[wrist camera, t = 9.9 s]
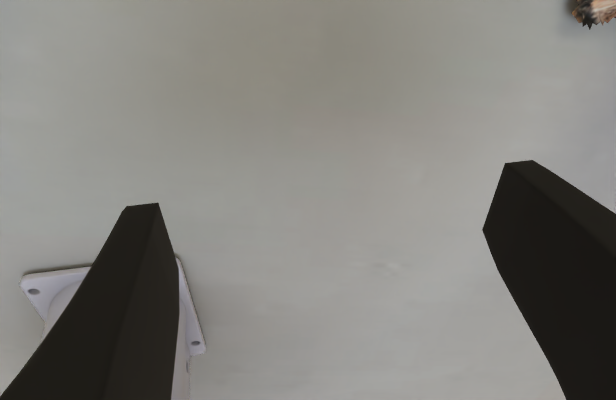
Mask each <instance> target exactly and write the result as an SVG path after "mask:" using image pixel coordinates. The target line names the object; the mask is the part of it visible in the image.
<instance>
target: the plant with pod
mask: <svg viewBox="0 0 616 400" xmlns="http://www.w3.org/2000/svg"><path fill="white" fill-rule="evenodd" d="M576 1H577V2H578V3H579V5H578V6H577V7H576V9H575V10H574V11H573V12H572V14H573V15H574V17H575V18H576V19H577V21H578V22H579V23H581V22H583V26H585V25H586V24H587V25H588V27H589V30H590V28H591V26H592V23H594V24H596V25H597V24H598V23H599V22H601V23H602V25H603V24H604V21H606V22H607V23H608V22H609V21H610V20H611V19H612V18H613V17H614V18H616V0H576Z"/></svg>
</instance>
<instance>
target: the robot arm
mask: <svg viewBox="0 0 616 400" xmlns="http://www.w3.org/2000/svg"><path fill="white" fill-rule="evenodd" d="M482 230H483V233H484V235H485V238H486V241H487V244H488V246H489V249H490V252H491V254H492V257H493V259H494V262H495V264H496V266H497V269H498V271H499V273H500V275H501V277H502V279H503V281H504V282H505V284H506V286H507V288H508V290H509V292H510V293H511V295H512V297H513V299H514V301H515V302H516V304H517V306H518V308H519V310H520V311H521V313H522V315H523V317H524V318H525V320H526V322H527V324H528V326H529V327H530V329H531V331H532V333H533V335H534V336H535V338H536V340H537V342H538V343H539V345H540V347H541V349H542V351H543V352H544V354H545V356H546V358H547V359H548V361H549V363H550V365H551V367H552V369H553V371H554V373H555V375H556V377H557V379H558V381H559V384H560V386H561V388H562V391H563V393H564V395H565V398H566V400H616V214H615V213H613V212H612V211H610V210H609V209H607V208H606V207H604V206H603V205H601V204H600V203H598V202H597V201H595V200H594V199H592V198H591V197H589V196H588V195H586V194H585V193H583V192H582V191H580V190H579V189H577V188H576V187H574V186H573V185H571V184H570V183H568V182H567V181H565V180H563V179H562V178H560V177H559V176H557V175H556V174H554V173H553V172H551V171H550V170H548V169H546V168H545V167H543V166H541V165H540V164H538V163H536V162H535V161H533V160H529V161H520V162H512V163H505V165H504V168H503V171H502V174H501V177H500V180H499V183H498V186H497V189H496V191H495V194H494V197H493V200H492V203H491V206H490V209H489V212H488V215H487V218H486V221H485V224H484V227H483V229H482ZM19 286H20V288H21V289H22V290H23V292H24V293H25V295H26V296H27V298H28V299H29V300H30V302H31V303H32V305H33V306H34V308H35V309H36V311H37V312H38V313H39V315H40V316H41V318H42V319H43V321H44V322H45V327H44V331H43V334H42V338H41V342H40V345H39V347H38V348H37V350H36V351H35V352H34V354H33V355H32V356H31V358H30V359H29V360H28V362H27V363H26V364H25V366H24V367H23V368H22V370H21V371H20V372H19V374H18V375H17V376H16V377H15V379H14V380H13V381H12V382H11V384H10V385H9V386H8V387H7V389H6V390H5V391H4V392H3V394H2V395H1V396H0V400H189V397H190V356H196V355H201V354H203V353H205V352H206V344H205V341H204V337H203V334H202V331H201V328H200V324H199V321H198V318H197V314H196V311H195V308H194V304H193V301H192V298H191V294H190V291H189V288H188V285H187V281H186V278H185V275H184V271H183V268H182V265H181V262H180V260H179V259H178V258H176V257H175V255H174V252H173V248H172V245H171V242H170V239H169V236H168V232H167V229H166V226H165V223H164V220H163V216H162V213H161V210H160V207H159V203H152V204H143V205H134V206H127V207H126V208H125V209H124V210H123V211H122V213H121V215H120V216H119V218H118V220H117V222H116V224H115V226H114V228H113V230H112V231H111V233H110V235H109V237H108V239H107V240H106V242H105V244H104V246H103V248H102V249H101V251H100V253H99V255H98V256H97V258H96V260H95V261H94V263H93V265H92V266H90V267H82V268H74V269H66V270H58V271H50V272H42V273H34V274H27V275H24V276H22V277H21V280H20V282H19Z"/></svg>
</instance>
